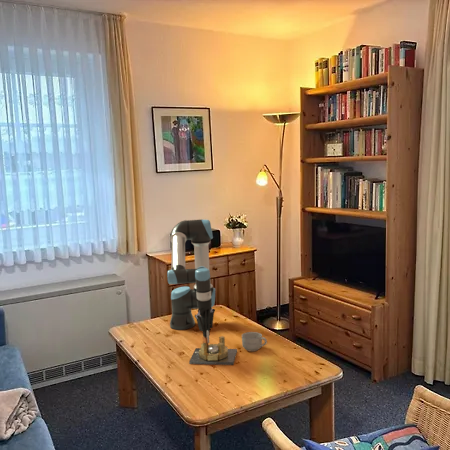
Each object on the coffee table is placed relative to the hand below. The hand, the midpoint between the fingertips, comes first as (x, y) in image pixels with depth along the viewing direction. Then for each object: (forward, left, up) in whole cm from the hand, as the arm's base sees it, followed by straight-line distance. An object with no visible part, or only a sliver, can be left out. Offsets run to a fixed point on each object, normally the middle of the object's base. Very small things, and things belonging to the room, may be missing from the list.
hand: (206, 342), depth 248 cm
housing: (+5, +4, -6) cm, 9 cm away
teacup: (-6, +24, -7) cm, 26 cm away
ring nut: (+5, +4, -5) cm, 8 cm away
